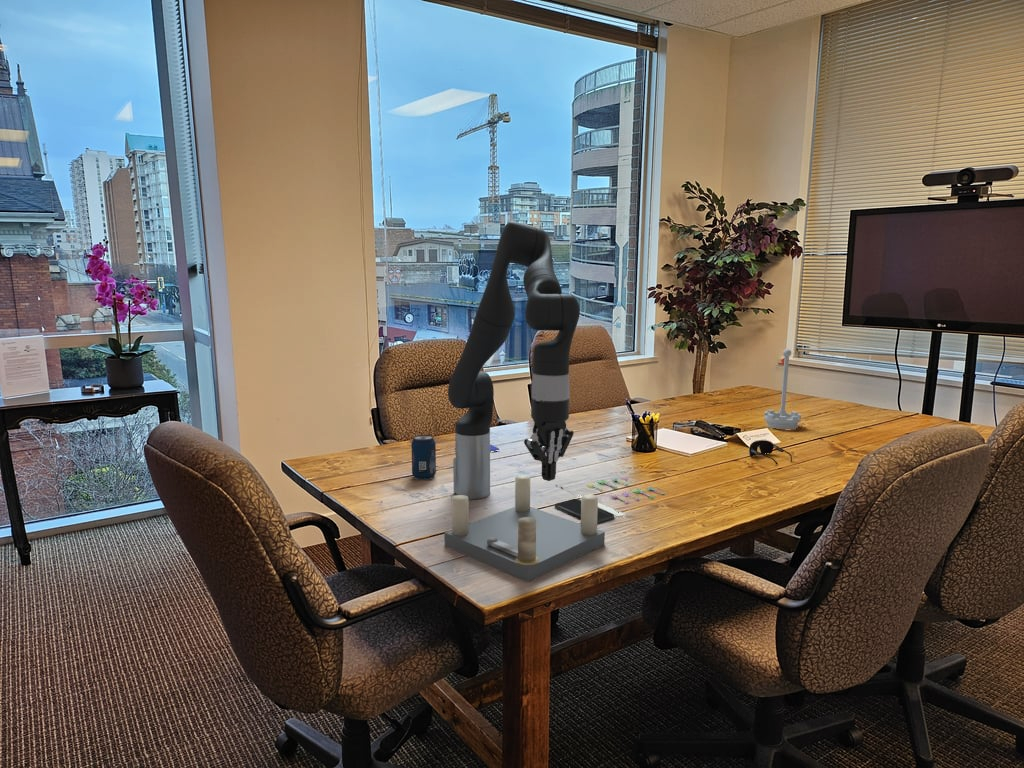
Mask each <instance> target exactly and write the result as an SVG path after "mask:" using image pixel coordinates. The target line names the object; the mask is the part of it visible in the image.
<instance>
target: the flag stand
mask: <svg viewBox="0 0 1024 768" xmlns="http://www.w3.org/2000/svg"><path fill="white" fill-rule="evenodd" d="M782 355H783V356H784V358H782V359H781V360H780V362H781V363H782V365H783V375H782V390H781V400H780V401H781V404H780V409H779V410H778V412H775V410H774V409H768V410H767V411H766V410H765V411H764V412H763V413H764V415H763V417H764V418H763V419H764V420H765V421H766V425H767V426H769V427H772V428H778V429H795V430H797V429H798V424H799V423H800V422H802V421H801V420H802V414H801V413H799V412H797V411H793V410H792V411H790V413H789V412H787V410H786V402H787V401H786V400H787V389H788V375H789V365H790V364H789V363H790V362H789V361H790V356H791V355H792V351H791V350H790V349H789V348H785V349H784V350H783V351H782ZM767 426H766V427H767ZM769 427H768V428H769ZM772 428H771V429H772ZM796 428H797V429H796Z"/></svg>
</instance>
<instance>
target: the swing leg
mask: <svg viewBox="0 0 1024 768" xmlns="http://www.w3.org/2000/svg"><path fill="white" fill-rule="evenodd" d="M487 545H489V546H493V547H495V548H497V549H500V550H502V551H505V552H507V553H509V554H512V555H514V556H516V557H518V560H520V561H522V562H532V561H534V560H536V519H534V518H530V517H524V518H520V519H519V520H518V548H516V547H514V546H511V545H509V544H506V543H504V542H502V541H499V540H498V539H497V538H495V537H490V538H487Z"/></svg>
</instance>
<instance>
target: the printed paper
mask: <svg viewBox="0 0 1024 768" xmlns="http://www.w3.org/2000/svg"><path fill="white" fill-rule="evenodd" d="M622 478H623V479H622ZM622 478H620V480H621V481H620V480H619V479H618V478H612V479H611V480H609V481H608V480H604V479H602V480H597V483H599V484H600V483H601V485H606V486H610V487H611V490H613V489H614V490H616V488H617V486H614V485H613V484H609V483H610V482H611V481H613V482H615V481H617V483H618V484H623V485H625V486H626V485H628V484H629V483H628V482H626V483H625V482H622V481H624V479H625V481H630V482H631V481H632V483H634V481H633V480H631V479H629V478H628V477H622ZM628 479H629V480H628ZM637 483H638V484H637ZM634 485H640V483H639V482H635V483H634ZM586 486H588V488H594V487H595V489H596V490H598V491H600V492H603V491H605V490H604V489H601V488H599V487H596V485H595V484H593V483H591V482H589V483H587V484H586ZM656 489H658V488H656V487H655V488H654V487H653V486H652V487H646V489H644V490H643V489H638V488H635V489H632V492H633V493H635V494H641V495H645V496H646V497H648V499H655V498H656V496H654V495H652V496H651V495H649V494H648V493H645V492H646V491H647V490H648V491H653V492H654V493H657V494H661V495H664V494H665V492H664V491H662V492H661V491H658V490H656ZM579 495H580V497H578V496H579ZM579 495H578V496H576V497H578V499H581V497H582V496H583V495H582V496H581V494H579ZM620 495H621V496H624V497H629V496H631V494H629V493H627V492H625V491H623V493H620V494H619V495H612V494H610V499H612V500H614V499H615V500H616V499H618V500H619V501H622V502H623V503H625V504H630V501H627V500H624V499H622V498H620V497H619V496H620ZM632 497H633V496H632ZM633 498H635V499H634V500H635V501H641V500H642V499H641V498H636V497H633ZM633 498H632V499H633ZM639 499H640V500H639ZM606 506H607V505H605V504H602V503H600V502H598V508H600V509H602V510H605V511H607V512H610V513H612V514H614V516H616V517H620V516H623V515H624V516H625V515H626V513H624V512H623V511H622V512H621V511H619V513H618V512H616V511H618V510H617V509H615V510H616V511H615V510H614V508H612V507H609V506H607V507H606Z"/></svg>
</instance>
